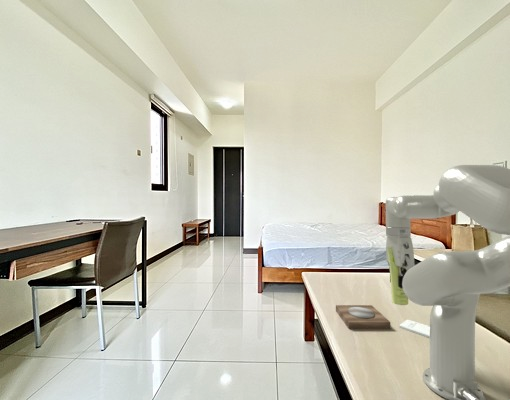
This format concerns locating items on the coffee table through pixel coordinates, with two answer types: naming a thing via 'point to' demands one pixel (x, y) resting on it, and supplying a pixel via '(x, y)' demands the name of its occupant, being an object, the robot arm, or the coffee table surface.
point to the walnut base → (362, 317)
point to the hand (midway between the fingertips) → (399, 284)
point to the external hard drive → (416, 328)
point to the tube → (396, 282)
